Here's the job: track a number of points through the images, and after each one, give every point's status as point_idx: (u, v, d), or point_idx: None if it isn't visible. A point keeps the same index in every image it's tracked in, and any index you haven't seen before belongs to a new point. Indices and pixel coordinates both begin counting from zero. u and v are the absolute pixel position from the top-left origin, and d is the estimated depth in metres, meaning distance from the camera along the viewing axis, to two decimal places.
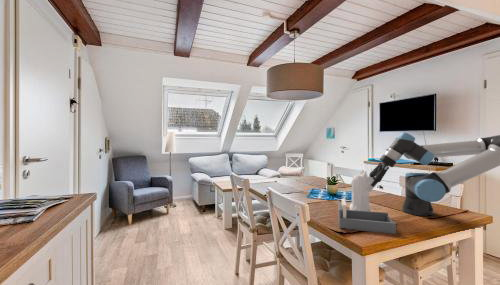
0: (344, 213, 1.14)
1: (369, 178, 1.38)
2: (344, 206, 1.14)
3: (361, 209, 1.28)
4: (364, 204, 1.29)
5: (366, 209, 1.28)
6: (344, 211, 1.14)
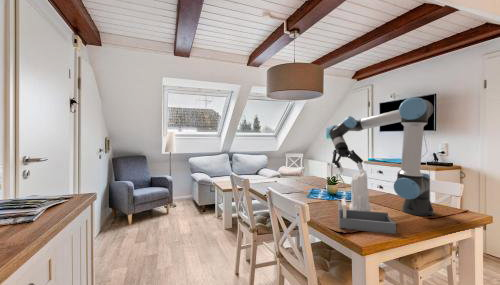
0: (344, 213, 1.14)
1: (358, 165, 1.46)
2: (344, 206, 1.14)
3: (361, 209, 1.28)
4: (364, 204, 1.28)
5: (366, 209, 1.27)
6: (344, 211, 1.14)
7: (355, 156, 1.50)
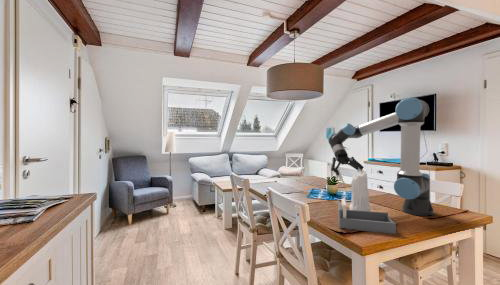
0: (344, 213, 1.14)
1: (358, 171, 1.44)
2: (344, 206, 1.14)
3: (361, 209, 1.28)
4: (364, 204, 1.29)
5: (366, 209, 1.28)
6: (344, 211, 1.14)
7: (355, 163, 1.48)
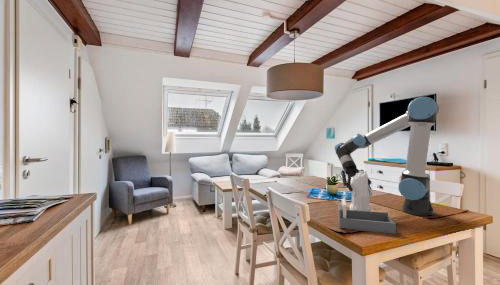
0: (344, 213, 1.14)
1: None
2: (344, 206, 1.14)
3: (362, 209, 1.28)
4: (365, 204, 1.29)
5: (367, 209, 1.28)
6: (344, 211, 1.14)
7: None
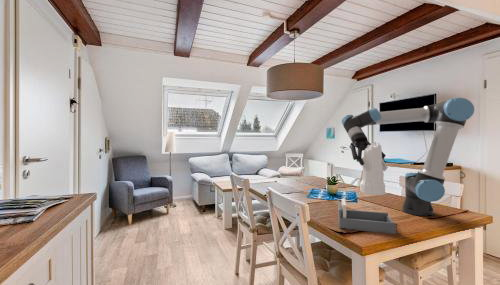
0: (344, 213, 1.14)
1: None
2: (344, 206, 1.14)
3: (375, 185, 1.11)
4: (378, 179, 1.11)
5: (381, 185, 1.11)
6: (344, 211, 1.14)
7: None
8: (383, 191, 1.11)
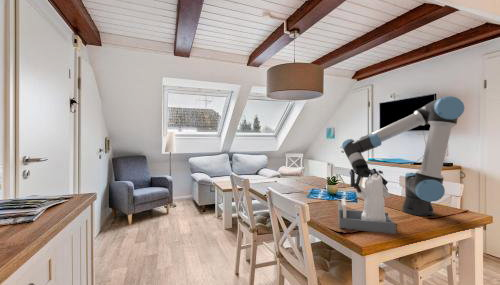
0: (344, 213, 1.14)
1: None
2: (344, 206, 1.14)
3: (376, 218, 1.11)
4: (380, 212, 1.11)
5: (382, 218, 1.11)
6: (344, 211, 1.14)
7: None
8: None
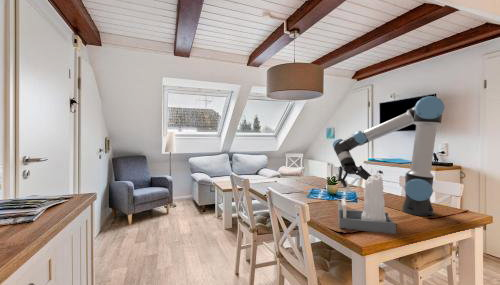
0: (344, 213, 1.14)
1: None
2: (344, 206, 1.14)
3: (376, 218, 1.11)
4: (380, 212, 1.11)
5: (382, 218, 1.11)
6: (344, 211, 1.14)
7: (364, 172, 1.34)
8: None
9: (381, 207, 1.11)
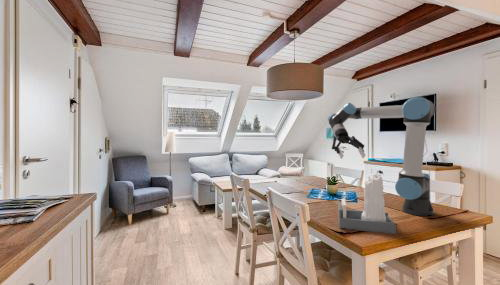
0: (344, 213, 1.14)
1: (359, 150, 1.42)
2: (344, 206, 1.14)
3: (376, 218, 1.11)
4: (380, 212, 1.11)
5: (382, 218, 1.11)
6: (344, 211, 1.14)
7: (356, 142, 1.46)
8: None
9: (381, 207, 1.11)
